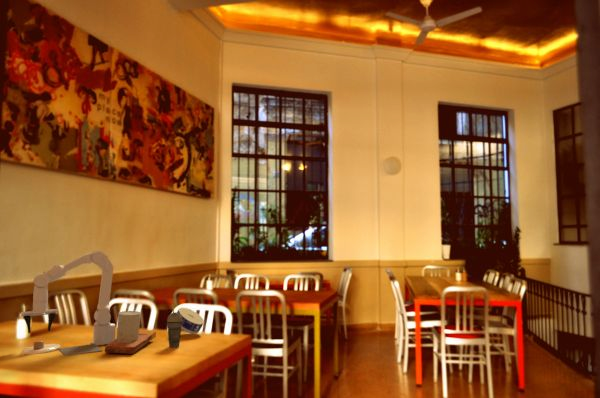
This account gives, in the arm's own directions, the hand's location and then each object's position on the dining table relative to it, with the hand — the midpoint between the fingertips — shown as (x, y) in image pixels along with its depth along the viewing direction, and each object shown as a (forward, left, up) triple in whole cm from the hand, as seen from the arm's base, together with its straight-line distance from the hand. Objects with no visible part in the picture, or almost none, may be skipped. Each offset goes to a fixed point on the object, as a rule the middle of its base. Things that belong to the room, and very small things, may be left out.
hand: (39, 331), depth 203 cm
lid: (0, +1, -8) cm, 8 cm away
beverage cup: (-52, +28, -9) cm, 60 cm away
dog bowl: (-69, +6, +1) cm, 70 cm away
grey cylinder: (-33, +20, -5) cm, 39 cm away
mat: (-15, +12, -9) cm, 21 cm away
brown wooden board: (-35, +19, -7) cm, 41 cm away
